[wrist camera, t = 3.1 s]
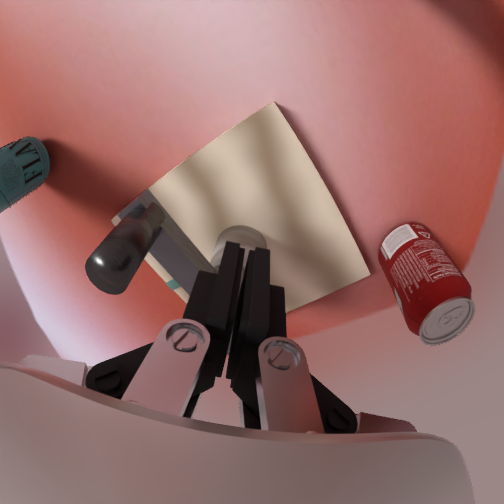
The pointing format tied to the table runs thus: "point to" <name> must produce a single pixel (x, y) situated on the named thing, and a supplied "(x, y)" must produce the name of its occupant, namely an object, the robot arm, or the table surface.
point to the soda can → (426, 283)
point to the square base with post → (262, 209)
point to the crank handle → (146, 249)
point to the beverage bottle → (22, 169)
